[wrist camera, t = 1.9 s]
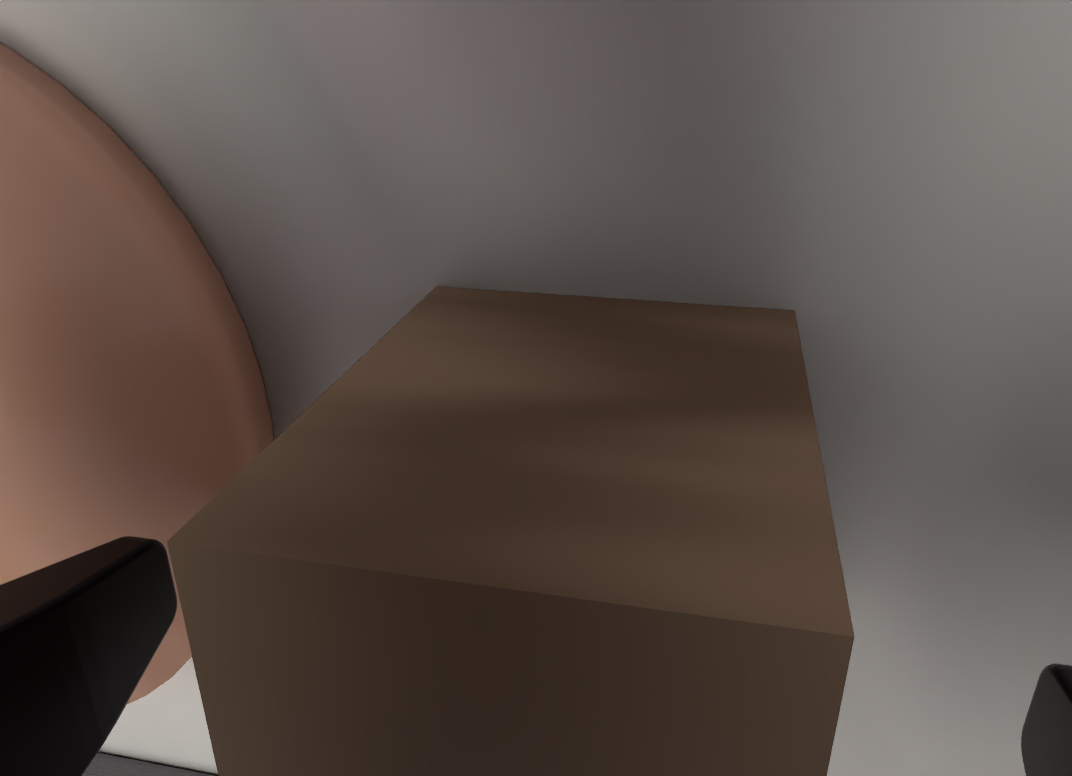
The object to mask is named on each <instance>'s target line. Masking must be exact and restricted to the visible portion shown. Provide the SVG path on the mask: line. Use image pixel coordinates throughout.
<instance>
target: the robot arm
mask: <svg viewBox="0 0 1072 776" xmlns="http://www.w3.org/2000/svg"><path fill="white" fill-rule="evenodd" d="M176 610H177V594H176V590H175V585H174V581H173V577H172V572H171V568H170V563H169V559H168V554H167V551H166V548H165V547H164V545H163V544H162V543H161V542H160V541H158V540H155V539H149V538H142V537H134V536H124V537H120V538H118V539H115V540H113V541H110V542H107V543H105V544H102V545H100V546H97V547H95V548H92V549H90V550H87V551H85V552H82V553H80V554H77V555H74V556H72V557H69V558H67V559H64V560H62V561H59V562H57V563H54V564H52V565H49V566H47V567H44V568H41V569H39V570H36V571H34V572H31V573H29V574H26V575H24V576H21V577H19V578H16V579H14V580H11V581H8V582H6V583H3V584H1V585H0V776H82V775H83V773H84V772H85V770H86V769H87V768H88V766H89V765H90V763H91V762H92V760H93V759H94V757H95V756H96V754H97V753H98V751H99V750H100V748H101V747H102V745H103V744H104V742H105V740H106V739H107V737H108V735H109V734H110V732H111V730H112V729H113V727H114V725H115V724H116V722H117V720H118V718H119V717H120V715H121V713H122V711H123V710H124V708H125V706H126V704H127V702H128V701H129V699H130V697H131V695H132V694H133V692H134V690H135V688H136V686H137V685H138V683H139V681H140V679H141V678H142V676H143V674H144V672H145V670H146V669H147V667H148V665H149V663H150V662H151V660H152V658H153V656H154V655H155V653H156V651H157V649H158V647H159V646H160V644H161V642H162V640H163V639H164V637H165V635H166V633H167V631H168V630H169V628H170V626H171V624H172V622H173V620H174V617H175V614H176ZM1021 750H1022V758H1023V763H1024V768H1025V773H1026V776H1072V666H1070V665H1063V664H1051V665H1048V666H1046V667H1045V668H1044V669H1043V671H1042V672H1041V674H1040V677H1039V680H1038V683H1037V686H1036V689H1035V692H1034V695H1033V698H1032V701H1031V704H1030V707H1029V710H1028V713H1027V717H1026V720H1025V723H1024V726H1023V730H1022V736H1021Z"/></svg>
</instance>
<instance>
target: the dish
mask: <svg viewBox="0 0 1072 776" xmlns="http://www.w3.org/2000/svg"><path fill="white" fill-rule="evenodd" d="M272 442H273V429H272V421H271V416H270V411H269V407H268V402H267V397H266V393H265V388H264V383H263V379H262V374H261V371H260V368H259V366H258V363H257V360H256V357H255V354H254V351H253V348H252V345H251V342H250V339H249V336H248V333H247V331H246V328H245V325H244V323H243V320H242V318H241V316H240V314H239V312H238V310H237V308H236V306H235V304H234V301H233V299H232V297H231V295H230V293H229V291H228V289H227V287H226V284H225V282H224V280H223V278H222V276H221V274H220V272H219V270H218V269H217V267H216V266H215V264H214V262H213V261H212V259H211V257H210V256H209V254H208V252H207V251H206V249H205V247H204V246H203V244H202V242H201V241H200V239H199V238H198V236H197V234H196V233H195V231H194V229H193V228H192V226H191V224H190V223H189V221H188V220H187V219H186V217H185V216H184V215H183V213H182V212H181V211H180V209H179V208H178V207H177V205H176V204H175V203H174V201H173V200H172V199H171V198H170V196H169V195H168V194H167V192H166V191H165V190H164V188H163V187H162V186H161V184H160V183H159V182H158V180H157V179H156V178H155V176H154V175H153V174H152V172H151V171H150V170H149V169H148V168H147V167H146V166H145V165H144V164H143V163H142V162H141V161H140V160H139V158H138V157H137V156H136V155H135V154H134V153H133V152H132V151H131V150H130V149H129V148H128V147H127V146H126V144H125V143H124V142H123V141H122V140H121V139H120V138H119V137H118V136H117V135H116V134H115V133H114V131H113V130H112V129H111V128H110V127H109V126H108V125H107V124H105V123H104V122H103V121H102V120H101V119H100V118H99V117H98V116H96V115H95V114H94V113H93V112H92V111H91V110H90V109H88V108H87V107H86V106H85V105H84V104H83V103H82V102H80V101H79V100H78V99H77V98H76V97H75V96H74V95H72V94H71V93H70V92H69V91H68V90H67V89H66V88H65V87H63V86H62V85H61V84H60V83H58V82H57V81H55V80H54V79H53V78H51V77H50V76H48V75H47V74H45V73H44V72H43V71H41V70H40V69H38V68H37V67H36V66H34V65H33V64H31V63H30V62H29V61H27V60H26V59H24V58H23V57H21V56H20V55H19V54H17V53H16V52H14V51H13V50H12V49H10V48H8V47H6V46H5V45H3V44H1V43H0V585H1V584H3V583H6V582H8V581H11V580H14V579H16V578H19V577H21V576H24V575H26V574H29V573H31V572H34V571H36V570H39V569H41V568H44V567H47V566H49V565H52V564H54V563H57V562H59V561H62V560H64V559H67V558H69V557H72V556H74V555H77V554H80V553H82V552H85V551H87V550H90V549H92V548H95V547H97V546H100V545H102V544H105V543H107V542H110V541H113V540H115V539H118V538H120V537H124V536H134V537H142V538H149V539H155V540H158V541H160V542H161V543H162V544H163V545H164V547H165V548H166V551H167V554H168V559H169V563H170V568H171V572H172V577H173V581H174V585H175V590H176V594H177V610H176V614H175V617H174V620H173V622H172V624H171V626H170V628H169V630H168V631H167V633H166V635H165V637H164V639H163V640H162V642H161V644H160V646H159V647H158V649H157V651H156V653H155V655H154V656H153V658H152V660H151V662H150V663H149V665H148V667H147V669H146V670H145V672H144V674H143V676H142V678H141V679H140V681H139V683H138V685H137V686H136V688H135V690H134V692H133V694H132V695H131V697H130V699H129V701H128V702H127V704H128V703H131V702H133V701H135V700H137V699H139V698H142V697H144V696H146V695H147V694H149V693H150V692H151V691H153V690H154V689H156V688H157V687H159V686H160V685H161V684H163V683H164V682H166V681H167V680H169V679H170V678H171V677H172V676H173V675H174V674H175V673H176V672H177V671H178V670H179V669H180V668H181V667H182V666H183V665H184V664H185V663H186V662H187V661H188V660H189V659H190V657H191V656H192V653H191V649H190V644H189V640H188V635H187V631H186V626H185V622H184V617H183V613H182V608H181V604H180V599H179V595H178V590H177V586H176V581H175V577H174V572H173V568H172V563H171V559H170V554H169V550H168V545H167V541H168V540H169V539H170V538H171V537H172V536H173V535H174V534H175V533H176V532H177V531H179V530H180V529H181V528H182V527H183V526H184V525H185V524H186V523H187V522H188V521H189V520H190V519H191V518H192V517H193V516H194V515H195V514H197V513H198V512H199V511H200V510H201V509H202V508H203V507H204V506H205V505H206V504H207V503H208V502H209V501H210V500H211V499H212V498H213V497H215V496H216V495H217V494H218V493H219V492H220V491H221V490H222V489H223V488H224V487H225V486H226V485H227V484H228V483H229V482H230V481H231V480H232V479H234V478H235V477H236V476H237V475H238V474H239V473H240V472H241V471H242V470H243V469H244V468H245V467H246V466H247V465H248V464H249V463H250V462H252V461H253V460H254V459H255V458H256V457H257V456H258V455H259V454H260V453H261V452H262V451H263V450H264V449H265V448H266V447H267V446H268V445H270V444H271V443H272Z"/></svg>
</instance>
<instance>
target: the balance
mask: <svg viewBox="0 0 1072 776" xmlns="http://www.w3.org/2000/svg"><path fill="white" fill-rule="evenodd" d="M82 776H215V775H209V774H204V773H199V772H194V771H189V770H184V769H179V768H174V767H168V766H163V765H158V764H153V763H148V762H143V761H138V760H133V759H128V758H122V757H117V756H112V755H107V754H102V753H97V754H96V756H95V757H94V759H93V760H92V762H91V763H90V765H89V766H88V768H87V769H86V770H85V772H84V773H83V775H82Z"/></svg>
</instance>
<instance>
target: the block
mask: <svg viewBox="0 0 1072 776" xmlns="http://www.w3.org/2000/svg"><path fill="white" fill-rule="evenodd" d="M167 545H168V550H169V554H170V559H171V563H172V568H173V572H174V577H175V581H176V586H177V590H178V595H179V599H180V604H181V608H182V613H183V617H184V622H185V626H186V631H187V635H188V640H189V644H190V649H191V653H192V658H193V662H194V667H195V671H196V676H197V680H198V685H199V689H200V694H201V698H202V703H203V707H204V712H205V716H206V721H207V725H208V730H209V734H210V739H211V743H212V748H213V753H214V757H215V762H216V766H217V771H218V775H219V776H827V771H828V766H829V761H830V756H831V751H832V746H833V741H834V736H835V731H836V726H837V720H838V715H839V710H840V705H841V700H842V695H843V690H844V685H845V680H846V675H847V670H848V665H849V660H850V655H851V650H852V645H853V640H854V633H853V627H852V622H851V616H850V611H849V606H848V600H847V595H846V589H845V584H844V578H843V573H842V567H841V562H840V556H839V551H838V546H837V540H836V535H835V529H834V524H833V518H832V513H831V507H830V502H829V496H828V491H827V486H826V480H825V475H824V469H823V464H822V458H821V453H820V447H819V442H818V436H817V431H816V426H815V420H814V415H813V409H812V404H811V398H810V393H809V387H808V382H807V376H806V371H805V366H804V360H803V355H802V349H801V344H800V338H799V333H798V327H797V322H796V316H795V311H793V310H778V309H763V308H749V307H734V306H719V305H704V304H689V303H674V302H659V301H644V300H629V299H614V298H600V297H585V296H570V295H555V294H540V293H525V292H510V291H495V290H480V289H465V288H451V287H436V288H435V289H433V290H432V291H431V292H430V293H429V294H428V295H427V296H426V297H425V298H424V299H423V300H422V301H421V302H420V303H419V304H418V305H417V306H415V307H414V308H413V309H412V310H411V311H410V312H409V313H408V314H407V315H406V316H405V317H404V318H403V319H402V320H401V321H400V322H399V323H398V324H396V325H395V326H394V327H393V328H392V329H391V330H390V331H389V332H388V333H387V334H386V335H385V336H384V337H383V338H382V339H381V340H380V341H378V342H377V343H376V344H375V345H374V346H373V347H372V348H371V349H370V350H369V351H368V352H367V353H366V354H365V355H364V356H363V357H362V358H360V359H359V360H358V361H357V362H356V363H355V364H354V365H353V366H352V367H351V368H350V369H349V370H348V371H347V372H346V373H345V374H344V375H343V376H341V377H340V378H339V379H338V380H337V381H336V382H335V383H334V384H333V385H332V386H331V387H330V388H329V389H328V390H327V391H326V392H325V393H323V394H322V395H321V396H320V397H319V398H318V399H317V400H316V401H315V402H314V403H313V404H312V405H311V406H310V407H309V408H308V409H307V410H305V411H304V412H303V413H302V414H301V415H300V416H299V417H298V418H297V419H296V420H295V421H294V422H293V423H292V424H291V425H290V426H289V427H287V428H286V429H285V430H284V431H283V432H282V433H281V434H280V435H279V436H278V437H277V438H276V439H275V440H274V441H273V442H272V443H271V444H270V445H268V446H267V447H266V448H265V449H264V450H263V451H262V452H261V453H260V454H259V455H258V456H257V457H256V458H255V459H254V460H253V461H252V462H250V463H249V464H248V465H247V466H246V467H245V468H244V469H243V470H242V471H241V472H240V473H239V474H238V475H237V476H236V477H235V478H234V479H232V480H231V481H230V482H229V483H228V484H227V485H226V486H225V487H224V488H223V489H222V490H221V491H220V492H219V493H218V494H217V495H216V496H215V497H213V498H212V499H211V500H210V501H209V502H208V503H207V504H206V505H205V506H204V507H203V508H202V509H201V510H200V511H199V512H198V513H197V514H195V515H194V516H193V517H192V518H191V519H190V520H189V521H188V522H187V523H186V524H185V525H184V526H183V527H182V528H181V529H180V530H179V531H177V532H176V533H175V534H174V535H173V536H172V537H171V538H170V539H169V540H168V541H167Z"/></svg>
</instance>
